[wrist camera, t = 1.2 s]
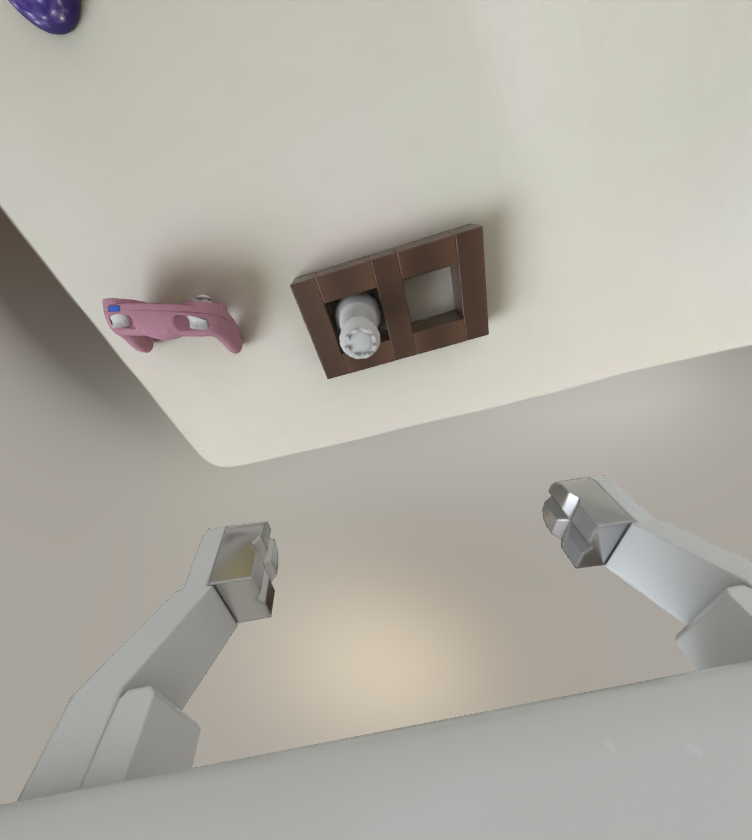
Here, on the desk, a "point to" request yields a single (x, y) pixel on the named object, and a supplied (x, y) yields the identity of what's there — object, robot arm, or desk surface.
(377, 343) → the rook chess piece
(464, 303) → the stand
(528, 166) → the desk surface
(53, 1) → the toy lamp
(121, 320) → the video game controller
